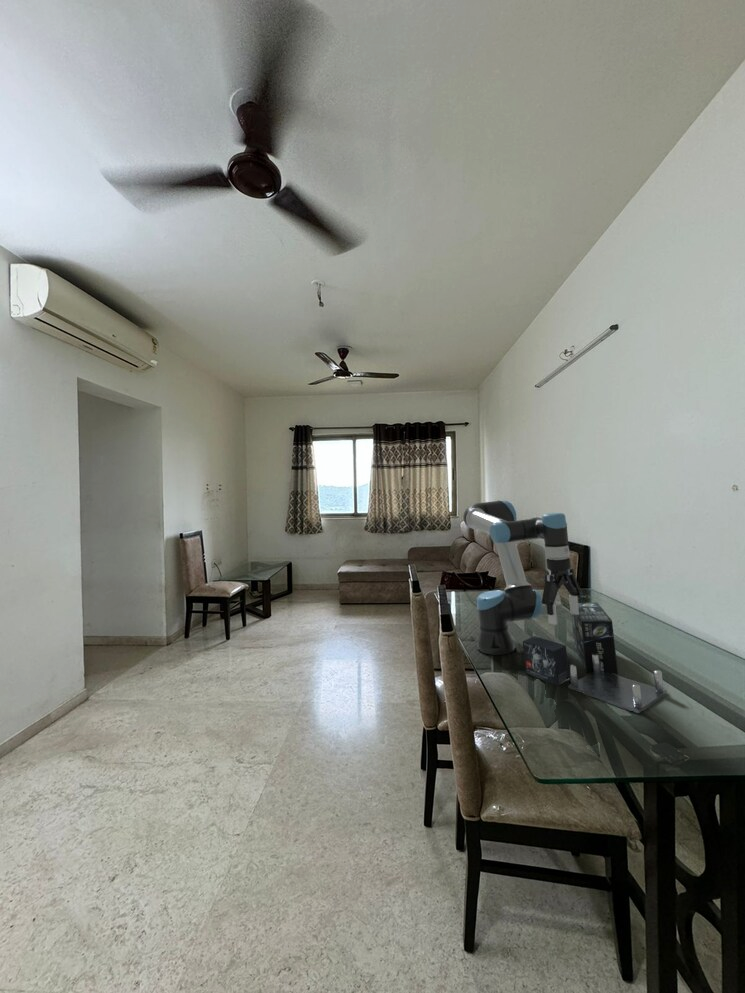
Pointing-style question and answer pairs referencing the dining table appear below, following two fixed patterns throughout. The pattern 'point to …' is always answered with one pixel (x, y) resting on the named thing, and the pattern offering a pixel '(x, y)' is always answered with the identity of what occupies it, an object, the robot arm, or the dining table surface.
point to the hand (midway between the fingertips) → (564, 618)
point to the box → (594, 637)
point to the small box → (546, 660)
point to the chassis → (618, 688)
